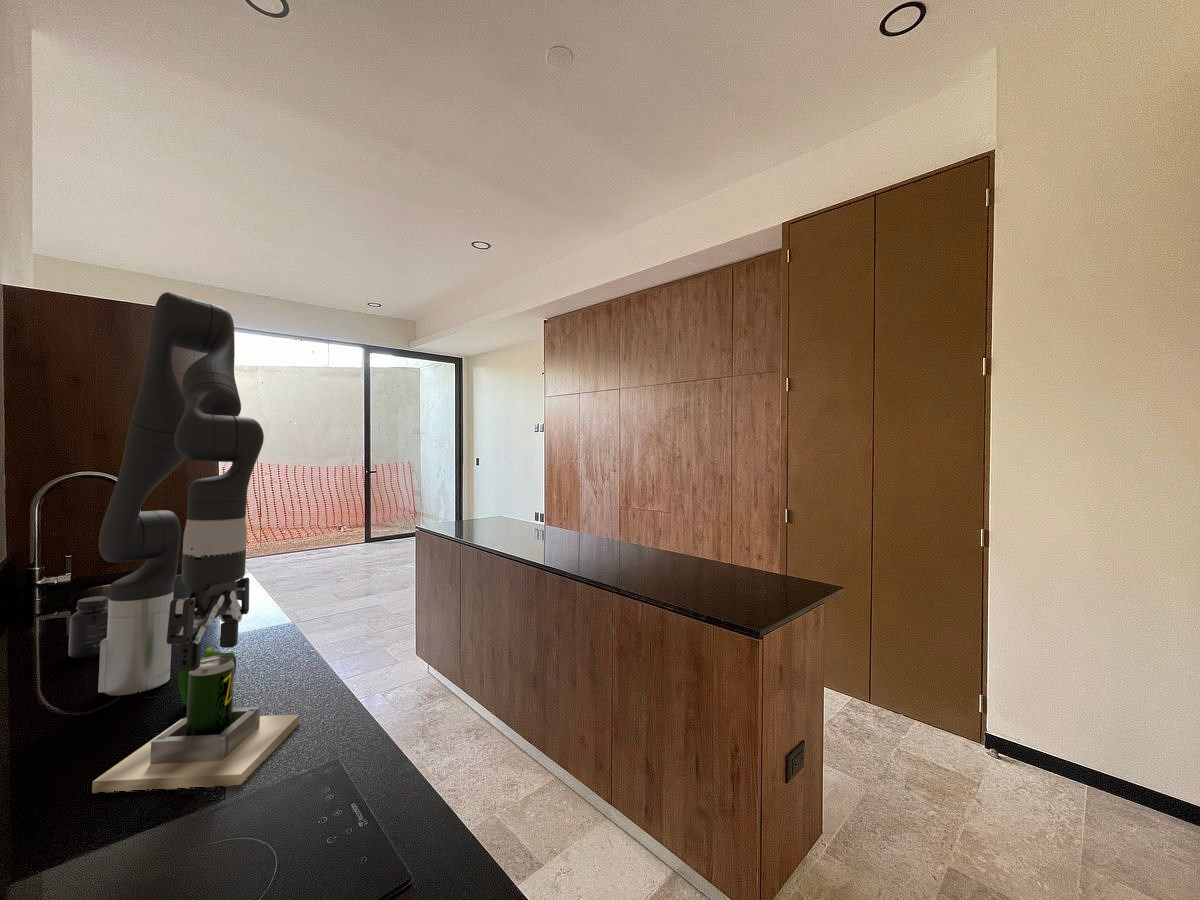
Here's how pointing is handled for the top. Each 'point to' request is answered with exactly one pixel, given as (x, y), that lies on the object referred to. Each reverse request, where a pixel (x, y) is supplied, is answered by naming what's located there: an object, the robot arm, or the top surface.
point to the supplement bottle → (88, 627)
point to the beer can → (210, 696)
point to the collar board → (200, 755)
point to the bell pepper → (184, 675)
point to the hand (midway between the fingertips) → (210, 657)
